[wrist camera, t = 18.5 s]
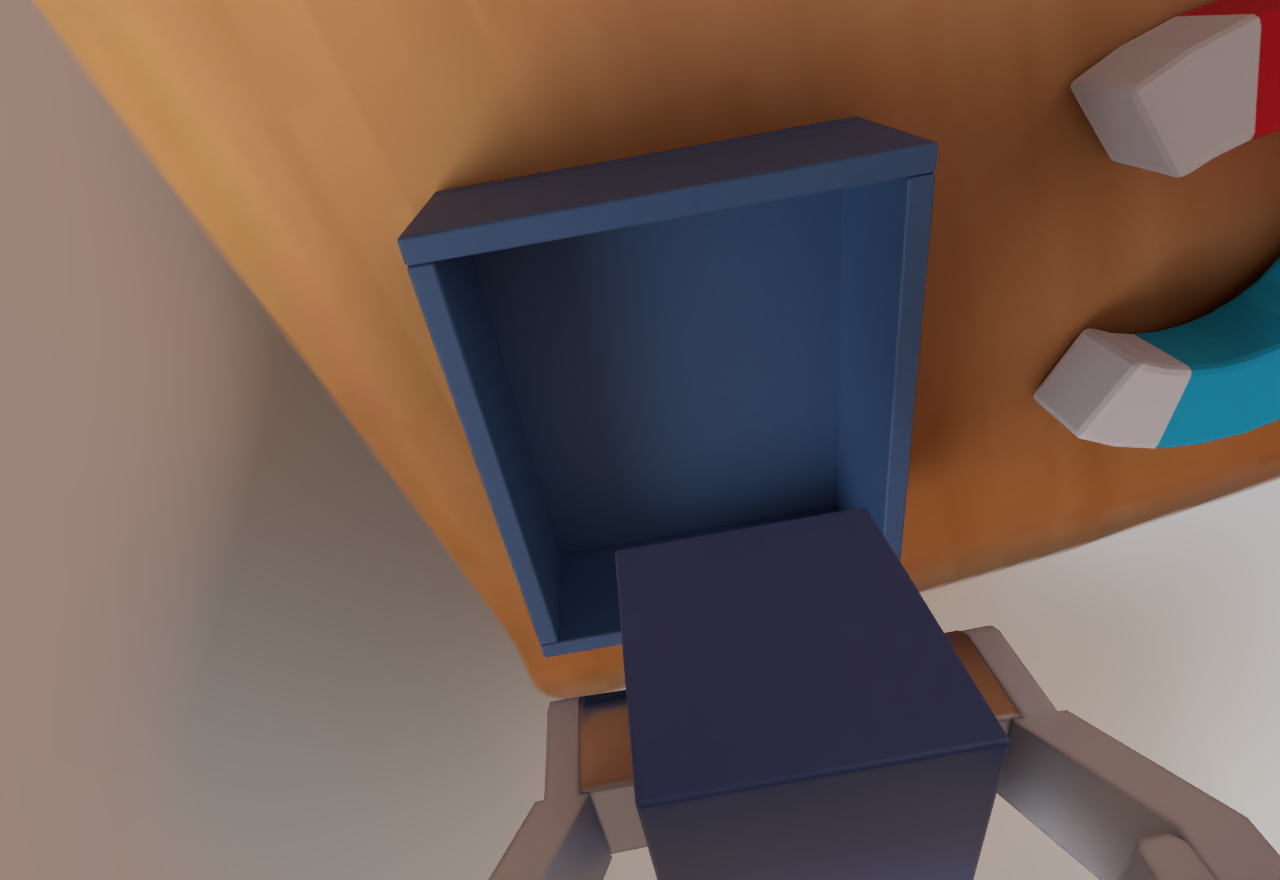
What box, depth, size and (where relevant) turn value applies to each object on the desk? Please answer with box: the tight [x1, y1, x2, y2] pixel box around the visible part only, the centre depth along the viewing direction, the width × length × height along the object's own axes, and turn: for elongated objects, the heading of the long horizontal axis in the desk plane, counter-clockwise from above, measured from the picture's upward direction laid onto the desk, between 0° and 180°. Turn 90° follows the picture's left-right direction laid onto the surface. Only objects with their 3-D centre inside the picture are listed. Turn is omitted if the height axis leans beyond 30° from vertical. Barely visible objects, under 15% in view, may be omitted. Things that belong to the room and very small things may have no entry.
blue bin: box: [398, 116, 938, 657], centre depth 19 cm, size 13×11×4 cm
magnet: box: [1033, 0, 1280, 448], centre depth 18 cm, size 12×3×10 cm
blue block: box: [615, 507, 1010, 880], centre depth 11 cm, size 4×4×4 cm
